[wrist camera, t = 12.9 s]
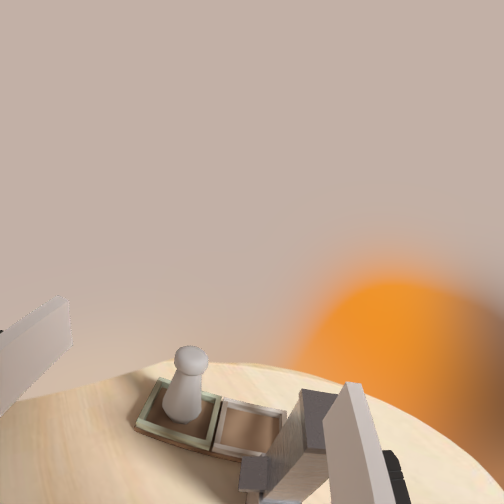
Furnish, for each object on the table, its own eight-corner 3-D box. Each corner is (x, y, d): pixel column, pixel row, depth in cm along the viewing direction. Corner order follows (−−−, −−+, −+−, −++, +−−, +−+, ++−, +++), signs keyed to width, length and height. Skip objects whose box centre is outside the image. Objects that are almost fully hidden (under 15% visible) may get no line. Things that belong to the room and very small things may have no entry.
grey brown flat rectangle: (282, 418, 42) (287, 410, 42) (283, 469, 32) (289, 461, 31) (157, 385, 42) (158, 375, 41) (134, 430, 31) (134, 421, 31)
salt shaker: (155, 403, 37) (163, 340, 33) (188, 398, 40) (203, 336, 37) (170, 432, 33) (180, 371, 29) (205, 424, 36) (223, 364, 33)
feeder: (283, 476, 30) (345, 393, 25) (282, 521, 22) (361, 453, 17) (231, 468, 30) (276, 381, 25) (224, 514, 22) (275, 446, 17)
